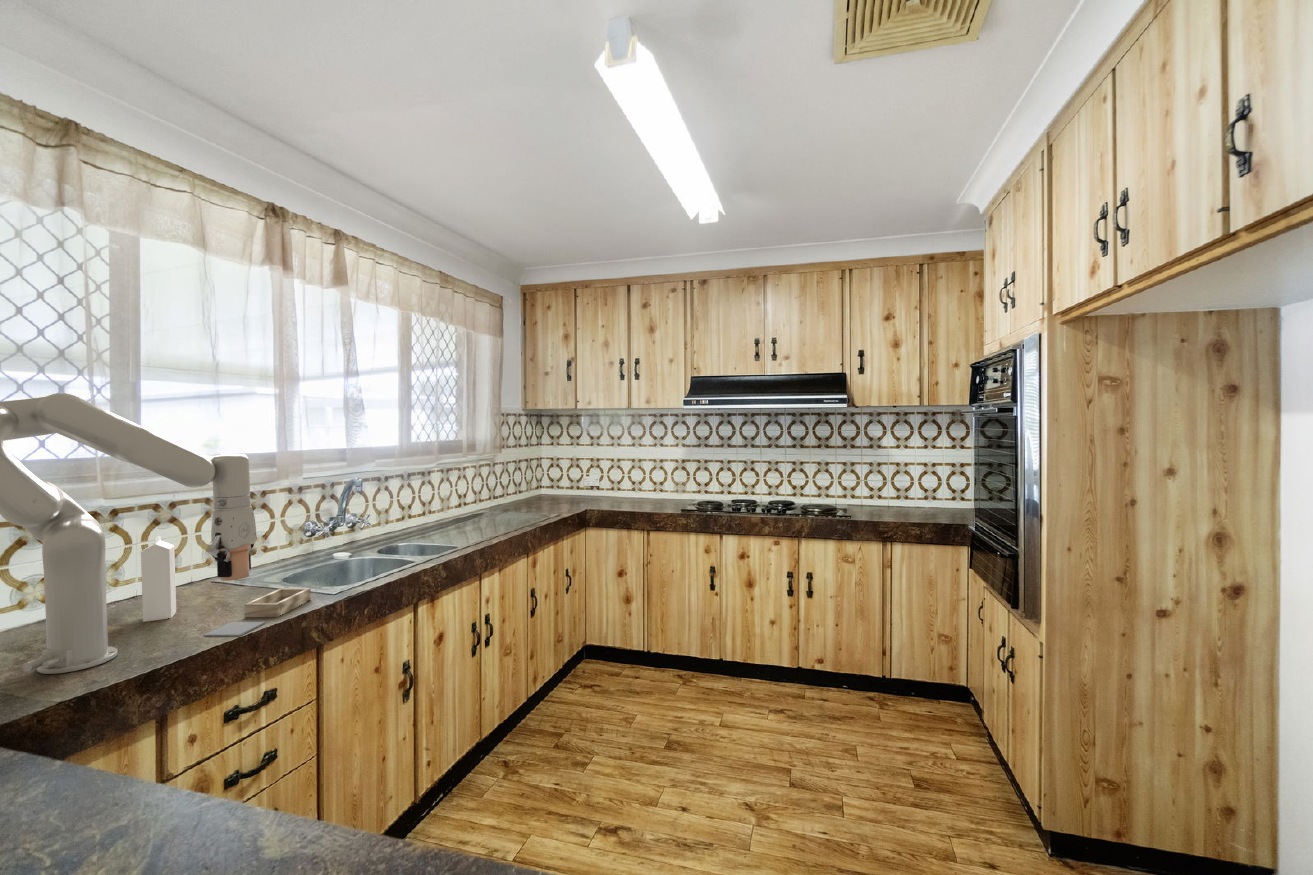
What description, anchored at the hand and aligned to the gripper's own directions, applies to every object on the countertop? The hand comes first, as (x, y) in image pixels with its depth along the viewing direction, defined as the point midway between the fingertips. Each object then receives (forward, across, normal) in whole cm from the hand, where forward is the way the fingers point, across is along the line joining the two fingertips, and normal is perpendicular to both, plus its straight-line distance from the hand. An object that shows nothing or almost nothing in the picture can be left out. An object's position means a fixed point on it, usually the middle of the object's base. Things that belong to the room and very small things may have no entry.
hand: (234, 572), depth 147 cm
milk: (+15, +10, +28) cm, 33 cm away
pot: (+1, 0, 0) cm, 1 cm away
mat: (+15, 0, 0) cm, 15 cm away
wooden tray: (+15, +17, 0) cm, 22 cm away
